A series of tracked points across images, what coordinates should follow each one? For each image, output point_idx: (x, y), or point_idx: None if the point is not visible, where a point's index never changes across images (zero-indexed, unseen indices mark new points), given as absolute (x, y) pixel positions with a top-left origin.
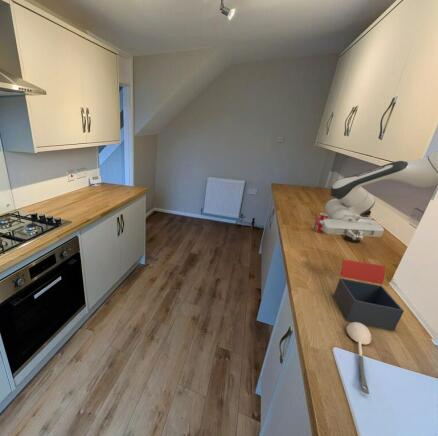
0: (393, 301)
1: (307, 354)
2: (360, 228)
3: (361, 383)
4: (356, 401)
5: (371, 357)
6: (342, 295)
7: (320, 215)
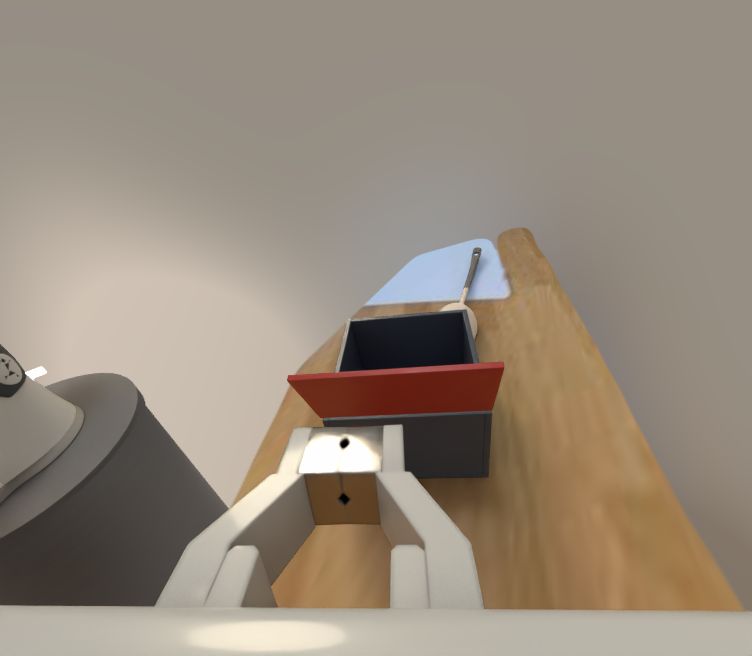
0: (345, 347)
1: (552, 272)
2: (146, 629)
3: (479, 255)
4: (487, 250)
5: (445, 302)
6: None
7: None
